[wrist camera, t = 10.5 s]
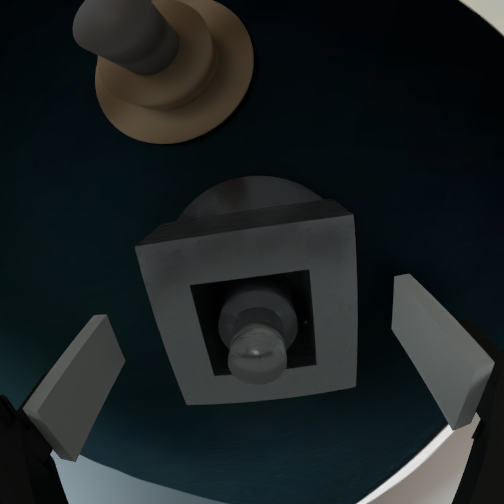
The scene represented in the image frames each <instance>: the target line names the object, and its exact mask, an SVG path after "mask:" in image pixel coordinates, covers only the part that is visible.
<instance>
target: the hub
mask: <svg viewBox="0 0 504 504" xmlns="http://www.w3.org/2000/svg"><path fill="white" fill-rule="evenodd" d="M318 200H323V199H322V198H321V197H320V196H319V195H317V194H316V193H314V192H313V191H311V190H310V189H308V188H307V187H305V186H303V185H301V184H299V183H297V182H294V181H291V180H288V179H285V178H281V177H275V176H269V175H250V176H242V177H238V178H233V179H230V180H227V181H224V182H222V183H219V184H217V185H215V186H213V187H212V188H210V189H208V190H206V191H205V192H204V193H202V194H201V195H200V196H198V197H197V198H196V199H195V200H194V201H193V202H192V203H191V204H190V205H189V206H187V207H186V209H185V210H184V211H183V213H182V214H181V215H180V217H179V218H178V220H177V221H183V220H189V219H195V218H201V217H207V216H213V215H219V214H226V213H232V212H239V211H245V210H252V209H259V208H266V207H273V206H280V205H287V204H295V203H302V202H310V201H318ZM177 221H176V222H177ZM211 285H212V289H213V294H214V298H215V303H216V307H217V311H218V316H219V323H218V329H219V334H220V337H221V339H222V341H223V343H224V344H225V345H226V346H227V348H229V349H230V350H229V357H228V366H229V369H230V371H231V373H232V374H233V375H234V376H235V377H236V378H237V379H239V380H241V381H243V382H245V383H248V384H254V385H261V384H267V383H270V382H272V381H275V380H276V379H278V378H279V377H280V376H281V375H282V374H283V373H284V371H285V369H286V366H287V358H286V350H287V349H288V348H289V347H290V346H291V344H292V343H293V341H294V340H295V337H296V335H297V330H298V324H302V323H307V319H306V308H305V297H304V287H303V277H302V270H300V271H293V272H286V273H278V274H271V275H264V276H256V277H249V278H241V279H234V280H226V281H218V282H211Z"/></svg>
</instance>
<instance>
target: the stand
mask: <svg viewBox="0 0 504 504" xmlns="http://www.w3.org/2000/svg"><path fill="white" fill-rule="evenodd" d="M73 35H74V38H75V40H76V42H77V43H78V44H79V45H80V46H81V47H82V48H84V49H86V50H88V51H90V52H93V53H95V54H97V55H98V63H97V67H96V75H95V86H96V93H97V97H98V100H99V104H100V106H101V108H102V110H103V112H104V114H105V115H106V117H107V118H108V119H109V121H110V122H111V123H112V124H113V125H114V126H115V127H116V128H118V129H119V130H120V131H121V132H123V133H124V134H126V135H128V136H130V137H132V138H134V139H137V140H140V141H144V142H148V143H156V144H173V143H180V142H185V141H188V140H192V139H195V138H197V137H200V136H202V135H204V134H206V133H208V132H210V131H211V130H213V129H215V128H216V127H217V126H219V125H220V124H222V123H223V122H224V121H225V120H226V119H227V118H228V117H229V116H230V115H231V114H232V113H233V112H234V111H235V110H236V108H237V107H238V106H239V104H240V103H241V101H242V100H243V98H244V96H245V94H246V92H247V90H248V88H249V85H250V82H251V78H252V73H253V64H254V57H253V47H252V43H251V40H250V37H249V34H248V32H247V30H246V28H245V27H244V25H243V23H242V22H241V21H240V20H239V18H238V17H237V16H236V15H235V14H234V13H233V12H231V11H230V10H229V9H228V8H226V7H225V6H223V5H221V4H220V3H217V2H215V1H213V0H154V1H150V0H85V2H84V3H83V4H82V5H81V7H80V8H79V10H78V12H77V14H76V16H75V19H74V23H73Z"/></svg>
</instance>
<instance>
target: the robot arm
mask: <svg viewBox="0 0 504 504" xmlns="http://www.w3.org/2000/svg"><path fill="white" fill-rule="evenodd" d="M392 330H393V332H394V334H395V335H396V337H397V338H398V340H399V341H400V343H401V344H402V346H403V348H404V349H405V351H406V352H407V354H408V356H409V357H410V359H411V360H412V362H413V364H414V365H415V367H416V368H417V370H418V372H419V373H420V375H421V377H422V378H423V380H424V382H425V383H426V385H427V387H428V388H429V390H430V392H431V393H432V395H433V397H434V398H435V400H436V402H437V404H438V405H439V407H440V409H441V411H442V412H443V414H444V416H445V418H446V419H447V421H448V423H449V425H450V427H451V428H452V430H456V429H458V428H461V427H463V426H465V425H468V424H470V423H471V422H472V419H473V417H474V415H475V413H476V412H477V414H478V415H479V417H480V418H481V419H480V422H479V424H478V426H477V428H476V430H475V432H474V434H473V436H472V438H473V439H474V441H473V445H472V449H471V451H470V455H469V458H468V461H467V464H466V467H465V470H464V473H463V476H462V478H461V481H460V484H459V487H458V489H457V492H456V494H455V497H454V499H453V502H452V504H504V355H503V354H502V353H501V351H500V350H499V349H498V348H497V347H496V346H495V345H494V344H493V343H492V342H491V341H489V339H488V338H487V337H486V336H485V335H483V333H482V332H481V330H480V329H479V328H478V327H477V326H476V325H474V324H472V323H470V322H468V321H466V320H463V321H460V322H457V321H456V320H455V319H454V317H453V316H452V315H451V314H450V313H449V312H448V311H447V310H446V309H445V308H444V307H443V306H442V305H441V304H440V303H439V302H438V301H437V300H436V299H435V298H434V297H433V296H432V295H431V294H430V293H429V292H428V291H427V290H426V289H425V288H424V287H423V286H422V285H421V284H420V283H419V282H418V281H417V280H415V279H414V278H413V277H412V276H411V275H410V274H405V275H399V276H394V297H393V315H392ZM124 363H125V359H124V356H123V354H122V352H121V349H120V347H119V344H118V342H117V340H116V337H115V335H114V332H113V330H112V327H111V325H110V322H109V319H108V317H107V314H106V315H94V316H93V317H92V318H91V319H90V321H89V322H88V323H87V324H86V325H85V327H84V328H83V329H82V330H81V332H80V333H79V334H78V335H77V337H76V338H75V339H74V340H73V342H72V343H71V344H70V345H69V347H68V348H67V349H66V351H65V352H64V353H63V354H62V356H61V357H60V358H59V360H58V361H57V362H56V364H55V365H54V366H53V367H52V369H51V370H50V371H48V372H47V373H46V374H45V375H43V376H42V378H41V379H40V380H39V382H38V383H37V386H35V387H34V388H33V390H32V392H30V394H29V395H28V397H27V398H26V399H25V401H24V402H23V403H22V405H21V406H20V408H19V409H18V411H16V410H15V409H14V407H13V406H12V404H11V403H10V401H9V400H8V398H7V397H6V396H5V395H0V504H69V503H68V501H67V498H66V495H65V493H64V490H63V487H62V484H61V481H60V478H59V475H58V472H57V468H56V465H55V462H54V460H53V458H52V457H51V455H50V454H51V452H52V450H54V451H55V452H56V453H57V454H58V456H59V457H60V458H61V459H65V460H69V461H74V462H76V460H77V458H78V456H79V454H80V451H81V449H82V447H83V445H84V443H85V441H86V439H87V437H88V434H89V432H90V430H91V428H92V426H93V424H94V422H95V420H96V418H97V416H98V414H99V412H100V410H101V408H102V406H103V404H104V402H105V400H106V398H107V396H108V394H109V392H110V390H111V388H112V386H113V384H114V382H115V380H116V378H117V376H118V374H119V372H120V371H121V369H122V367H123V365H124Z"/></svg>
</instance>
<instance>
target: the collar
mask: <svg viewBox="0 0 504 504" xmlns="http://www.w3.org/2000/svg"><path fill="white" fill-rule="evenodd" d="M135 250H136V254H137V258H138V261H139V265H140V269H141V272H142V276H143V279H144V283H145V286H146V290H147V293H148V297H149V300H150V303H151V306H152V310H153V313H154V316H155V319H156V322H157V325H158V328H159V331H160V334H161V337H162V340H163V343H164V346H165V349H166V352H167V355H168V357H169V360H170V363H171V366H172V368H173V371H174V374H175V376H176V379H177V382H178V384H179V387H180V389H181V392H182V394H183V397H184V399H185V402H186V404H187V405H203V404H225V403H240V402H252V401H263V400H273V399H282V398H290V397H298V396H305V395H312V394H318V393H325V392H330V391H336V390H342V389H347V388H352V387H356V370H357V331H358V305H357V265H356V244H355V227H354V215H353V214H352V213H351V212H349V211H348V210H347V209H345V208H344V207H343V206H341V205H340V204H339V203H337V202H336V201H335V200H333V199H326V200H318V201H310V202H302V203H295V204H287V205H280V206H273V207H266V208H259V209H252V210H245V211H239V212H232V213H226V214H219V215H213V216H207V217H201V218H195V219H189V220H183V221H177V222H171V223H165V224H161V225H160V226H159V227H158V228H156V229H155V230H154V231H153V232H152V233H150V234H149V235H148V236H147V237H146V238H144V239H143V240H142V241H141V242H140V243H138V244H137V245H136V246H135ZM300 270H302V277H303V287H304V297H305V308H306V319H307V323H302V324H298V330H297V335H296V337H295V340H294V341H293V343H292V344H291V346H290V347H289V348H288V349H287V350H286V358H287V366H286V369H285V371H284V373H283V374H282V375H281V376H280V377H279V378H278V379H276V380H275V381H272V382H270V383H267V384H261V385H254V384H248V383H245V382H243V381H241V380H239V379H237V378H236V377H235V376H234V375H233V374H232V373H231V371H230V369H229V366H228V357H229V350H230V349H229V348H227V346H226V345H225V344H224V343H223V341H222V339H221V337H220V334H219V329H218V323H219V316H218V311H217V307H216V303H215V298H214V294H213V289H212V285H211V282H218V281H226V280H234V279H241V278H249V277H256V276H264V275H271V274H278V273H286V272H293V271H300Z"/></svg>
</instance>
